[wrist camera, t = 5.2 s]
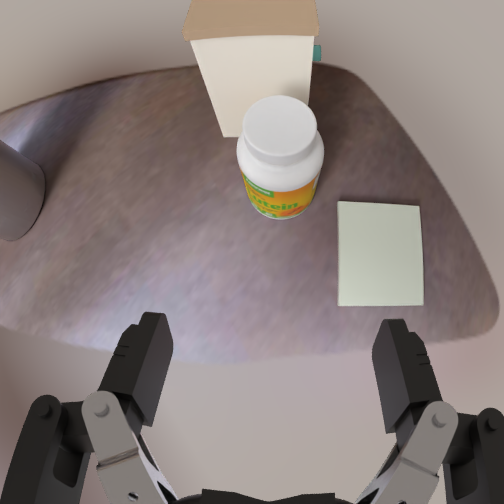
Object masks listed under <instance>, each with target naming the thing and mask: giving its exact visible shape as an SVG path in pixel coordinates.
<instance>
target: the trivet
mask: <svg viewBox="0 0 504 504" xmlns="http://www.w3.org/2000/svg"><path fill="white" fill-rule="evenodd" d="M337 221H338V295H337V306H414V305H423V252H422V235H421V222H420V211H419V206H411V205H397V204H381V203H364V202H344V201H338V203H337Z"/></svg>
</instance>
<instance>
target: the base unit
mask: <svg viewBox="0 0 504 504" xmlns="http://www.w3.org/2000/svg"><path fill="white" fill-rule="evenodd" d="M182 34H183V37H184V39H185V41H190V42H191V45H192V48H193V50H194V54H195V56H196V59H197V62H198V65H199V68H200V71H201V74H202V76H203V79H204V82H205V85H206V88H207V91H208V93H209V96H210V99H211V102H212V105H213V108H214V111H215V113H216V116H217V119H218V122H219V125H220V128H221V131H222V134H223V136H224V137H239V136H240V134H241V132H242V131H243V130H242V122H243V118H244V115H245V114H246V112H247V110H248V109H249V108H250V107H251V106H252V105H253V104H254V103H255V102H257V101H258V100H260V99H263V98H265V97H268V96H274V95H284V96H290V97H293V98H296V99H298V100H300V101H302V102H303V103H305V104H306V105H307V106H308V101H309V91H310V80H311V69H312V61H320V60H321V46H320V45H314V36H318V34H319V23H318V16H317V10H316V5H315V0H192V2H191V4H190V8H189V11H188V14H187V17H186V20H185V23H184V26H183V30H182Z"/></svg>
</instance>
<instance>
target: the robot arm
mask: <svg viewBox="0 0 504 504" xmlns="http://www.w3.org/2000/svg"><path fill="white" fill-rule="evenodd" d="M44 193H45V178H44V174H43V171H42V169H41V168H40V167H39V166H38V165H37V164H36V163H34V162H32V161H31V160H29V159H28V158H26V157H25V156H23V155H22V154H20V153H19V152H17V151H16V150H14V149H13V148H11V147H10V146H8V145H7V144H5V143H4V142H2V141H1V140H0V239H4V240H7V241H13V240H17V239H19V238H20V237H22V236H23V235H24V234H25V233H26V232H27V231H28V230H29V229H30V228H31V226H32V225H33V223H34V222H35V220H36V218H37V216H38V214H39V211H40V209H41V206H42V203H43V199H44ZM172 353H173V339H172V336H171V332H170V328H169V325H168V321H167V318H166V315H165V314H164V313H154V312H144V313H143V315H142V317H141V320H140V322H139V324H138V325H135V324H131V325H130V326H129V327H128V328H127V329H126V330H125V331H124V332H123V333H122V335H121V337H120V340H119V342H118V344H117V347H116V349H115V351H114V353H113V354H114V355H113V356H112V358H111V360H110V363H109V365H108V368H107V370H106V372H105V374H104V377H103V379H102V382H101V384H100V387H99V389H98V390H97V392H94V393H92V394H90V395H89V396H88V397H87V398H86V399H85V400H84V401H80V402H66V403H60V401H59V400H58V399H57V398H56V397H54V396H51V395H43V396H40V397H38V398H37V399H36V400H35V401H34V402H33V403H32V405H31V407H30V410H29V412H28V415H27V418H26V420H25V423H24V425H23V428H22V431H21V434H20V436H19V439H18V442H17V445H16V448H15V451H14V454H13V457H12V461H11V463H10V467H9V470H8V474H7V477H6V480H5V484H4V487H3V491H2V495H1V499H0V504H79V502H80V497H81V493H82V488H83V484H84V479H85V475H86V471H87V467H88V463H89V459H90V455H91V452H95V454H96V456H97V459H98V465H97V467H96V469H97V473H98V476H99V479H100V481H101V483H102V486H103V488H104V491H105V493H106V495H107V498H108V499H109V502H110V504H353V503H350V502H348V501H345V500H341V499H337V498H335V493H324V494H304V495H303V494H302V495H298V496H294V497H290V498H286V499H281V500H276V501H270V502H267V501H263V500H259V499H255V498H252V497H248V496H245V495H242V494H238V493H235V492H226V491H217V490H207V489H202V494H196V495H191V496H187V497H184V498H181V499H178V497H177V495H176V494H175V492H174V490H173V489H172V487H171V486H170V484H169V483H168V481H167V480H166V479H165V477H164V475H163V474H162V472H161V470H160V469H159V467H158V465H157V463H156V461H155V459H154V457H153V455H152V453H151V451H150V449H149V447H148V446H147V443H146V442H145V439H144V437H143V435H142V434H141V429H142V425H146V426H150V427H152V424H153V421H154V417H155V413H156V410H157V406H158V402H159V399H160V395H161V391H162V388H163V385H164V381H165V378H166V374H167V370H168V367H169V364H170V361H171V357H172ZM372 360H373V366H374V370H375V375H376V380H377V385H378V390H379V395H380V401H381V406H382V412H383V418H384V424H385V430H386V434H387V433H394V432H396V438H397V442H396V443H395V445H394V447H393V449H392V450H391V452H390V454H389V455H388V457H387V459H386V460H385V462H384V463H383V465H382V467H381V468H380V470H379V471H378V473H377V474H376V476H375V477H374V479H373V480H372V482H371V483H370V484H369V485H368V486H367V487H366V488H365V490H364V491H363V492H362V494H361V495H360V496H359V497H358V499H357V500H356V501H355V503H354V504H428V502H429V500H430V498H431V496H432V494H433V492H434V490H435V488H436V486H437V484H438V481H439V476H437V472H438V470H439V467H440V466H441V464H443V471H444V479H445V489H446V501H447V504H504V416H503V414H502V413H501V412H500V411H498V410H497V409H494V408H486V409H484V410H483V411H482V412H481V413H480V414H479V415H478V416H477V415H470V414H463V413H457V412H456V410H455V409H454V408H453V407H452V406H451V405H450V404H448V403H446V402H444V401H443V400H442V397H441V394H440V391H439V387H438V384H437V381H436V378H435V375H434V372H433V369H432V366H431V365H430V360H429V357H428V356H427V351H426V348H425V345H424V342H423V341H422V340H421V339H420V337H419V336H418V335H417V334H416V333H415V332H409V331H408V328H407V326H406V323H405V321H404V319H384V320H383V321H382V323H381V326H380V329H379V332H378V334H377V337H376V339H375V342H374V345H373V349H372Z"/></svg>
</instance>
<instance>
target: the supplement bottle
mask: <svg viewBox="0 0 504 504" xmlns="http://www.w3.org/2000/svg"><path fill="white" fill-rule="evenodd" d="M242 130H243V131H242V132H241V134H240V136H239V139H238V143H237V159H238V163H239V167H240V170H241V173H242V176H243V180H244V183H245V187H246V190H247V194H248V197H249V199H250V201H251V203H252V205H253V206H254V207H255V208H256V209H257V210H258V211H259V212H260V213H261V214H263V215H265V216H267V217H269V218H273V219H290V218H293V217H296V216H298V215H299V214H301V213H302V212H304V211H305V210H306V209H307V208H308V206H309V205H310V203H311V201H312V199H313V196H314V193H315V189H316V186H317V182H318V178H319V174H320V171H321V167H322V164H323V158H324V145H323V141H322V138H321V136H320V134H319V132H318V131H317V122H316V118H315V116H314V114H313V112H312V110H311V109H310V108H309V107H308V106H307V105H306V104H305V103H303V102H302V101H300V100H298V99H296V98H293V97H290V96H284V95H274V96H268V97H265V98H263V99H260V100H258V101H257V102H255V103H254V104H253V105H252V106H251V107H250V108H249V109H248V110H247V112H246V114H245V115H244V118H243V122H242Z"/></svg>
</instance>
